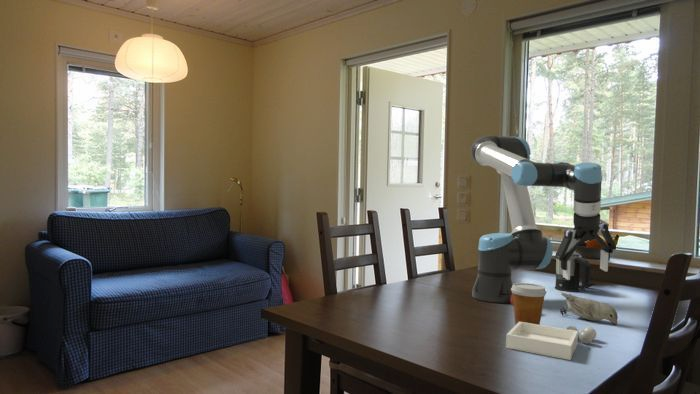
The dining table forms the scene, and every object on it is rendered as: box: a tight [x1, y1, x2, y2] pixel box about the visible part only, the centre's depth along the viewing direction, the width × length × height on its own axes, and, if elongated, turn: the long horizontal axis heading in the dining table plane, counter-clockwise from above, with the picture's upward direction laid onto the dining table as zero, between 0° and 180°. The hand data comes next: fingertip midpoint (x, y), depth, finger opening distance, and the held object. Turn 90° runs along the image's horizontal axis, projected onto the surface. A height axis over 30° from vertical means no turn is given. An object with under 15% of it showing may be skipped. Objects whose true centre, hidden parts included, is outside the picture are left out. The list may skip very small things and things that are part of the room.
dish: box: [505, 322, 579, 361], centre depth 121 cm, size 15×15×3 cm
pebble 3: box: [582, 326, 597, 341], centre depth 128 cm, size 3×3×3 cm
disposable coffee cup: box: [511, 282, 547, 326], centre depth 137 cm, size 10×10×12 cm
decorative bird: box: [559, 291, 619, 326], centre depth 148 cm, size 5×16×8 cm, turn 50°
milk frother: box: [554, 251, 598, 292], centre depth 196 cm, size 14×16×15 cm
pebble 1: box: [566, 326, 580, 336], centre depth 128 cm, size 3×3×3 cm
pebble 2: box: [578, 330, 594, 344], centre depth 125 cm, size 3×3×3 cm
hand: (585, 274), depth 157 cm, fingers open, 13 cm apart
